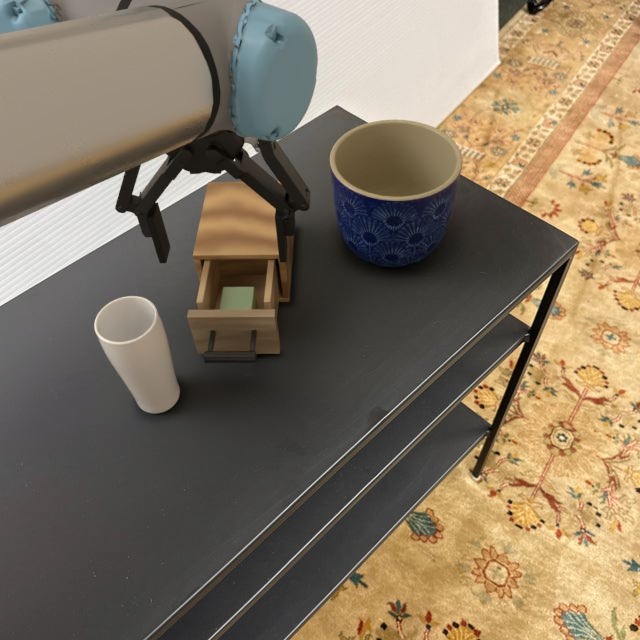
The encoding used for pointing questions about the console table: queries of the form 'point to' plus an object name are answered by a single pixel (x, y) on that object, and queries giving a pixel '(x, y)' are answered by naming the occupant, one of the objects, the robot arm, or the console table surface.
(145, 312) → the drinking glass
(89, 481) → the console table surface
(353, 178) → the planter
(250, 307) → the block
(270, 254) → the cabinet
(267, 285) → the drawer
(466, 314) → the console table surface
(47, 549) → the console table surface
